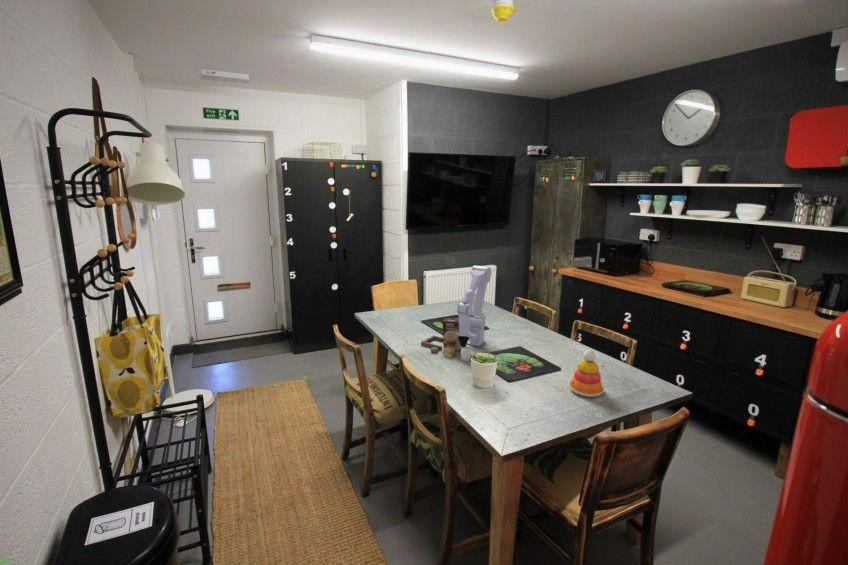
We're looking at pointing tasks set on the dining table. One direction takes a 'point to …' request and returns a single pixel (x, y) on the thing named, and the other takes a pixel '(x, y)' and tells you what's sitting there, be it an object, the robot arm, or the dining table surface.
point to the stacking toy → (587, 377)
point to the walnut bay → (426, 342)
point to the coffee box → (451, 333)
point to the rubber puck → (434, 350)
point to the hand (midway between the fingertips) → (463, 348)
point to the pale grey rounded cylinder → (465, 354)
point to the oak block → (449, 351)
